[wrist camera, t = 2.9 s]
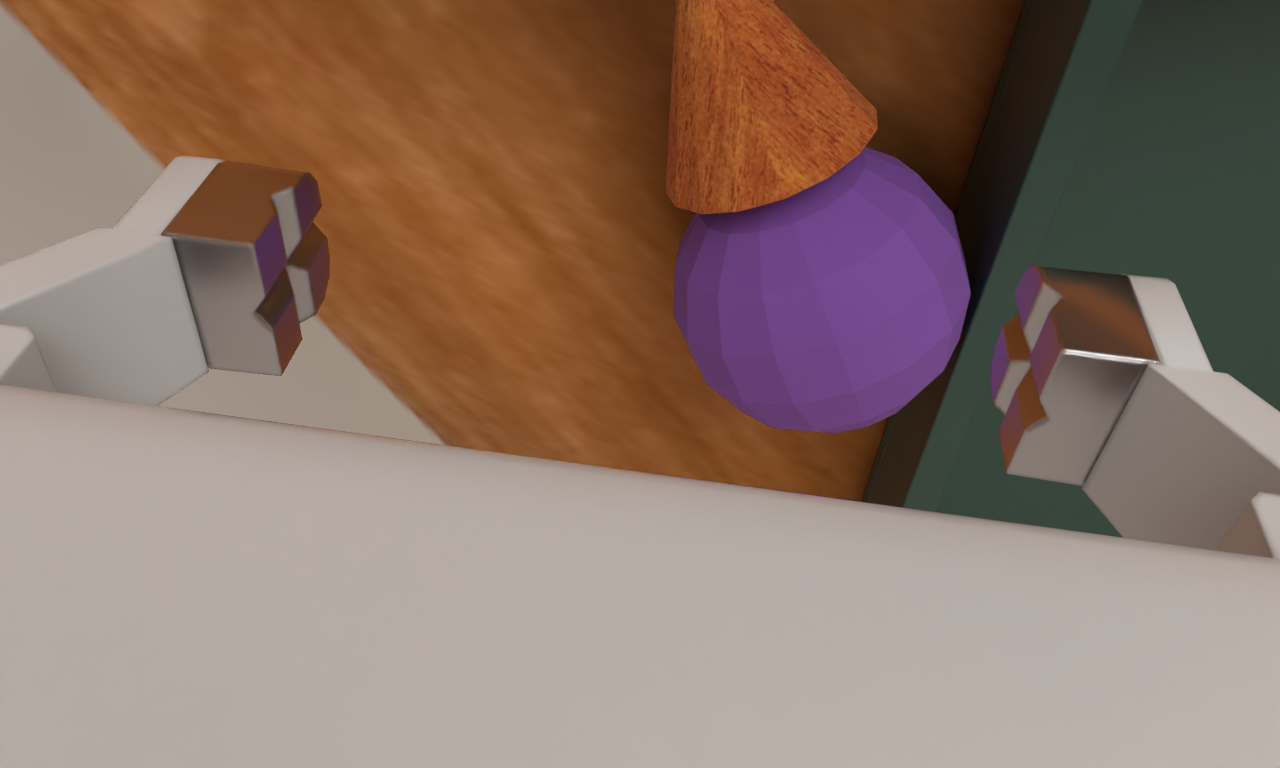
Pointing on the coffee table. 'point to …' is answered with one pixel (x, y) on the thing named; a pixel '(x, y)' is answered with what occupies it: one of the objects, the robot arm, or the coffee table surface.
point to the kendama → (800, 230)
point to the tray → (1106, 221)
